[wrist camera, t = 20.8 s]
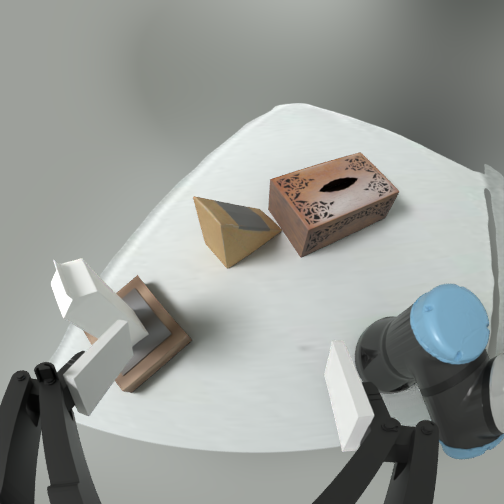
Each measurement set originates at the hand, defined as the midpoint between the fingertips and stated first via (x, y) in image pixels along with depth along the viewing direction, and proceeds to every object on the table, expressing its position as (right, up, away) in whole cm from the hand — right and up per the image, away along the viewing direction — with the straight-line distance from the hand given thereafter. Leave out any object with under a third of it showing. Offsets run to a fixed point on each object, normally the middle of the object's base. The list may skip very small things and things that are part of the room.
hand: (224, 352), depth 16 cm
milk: (-20, -8, +29) cm, 36 cm away
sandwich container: (0, +9, +44) cm, 45 cm away
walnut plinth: (-21, -10, +32) cm, 40 cm away
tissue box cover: (+20, +15, +48) cm, 54 cm away
